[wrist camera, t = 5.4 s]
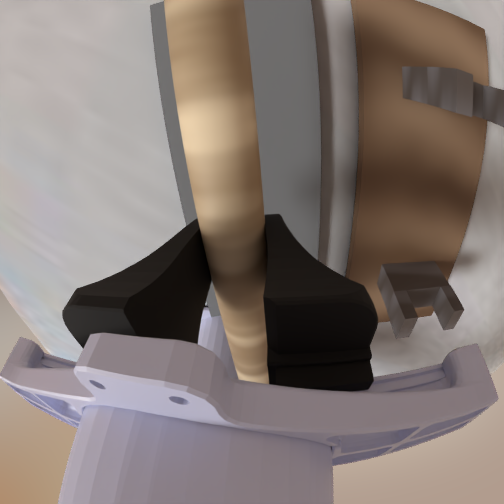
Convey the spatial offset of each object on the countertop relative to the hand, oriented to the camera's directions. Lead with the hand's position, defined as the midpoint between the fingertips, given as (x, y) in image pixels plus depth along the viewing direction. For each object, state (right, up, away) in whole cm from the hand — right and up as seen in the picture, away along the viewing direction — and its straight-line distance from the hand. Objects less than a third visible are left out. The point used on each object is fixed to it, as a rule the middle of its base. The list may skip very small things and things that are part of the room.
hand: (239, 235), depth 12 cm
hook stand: (+12, +4, +4) cm, 13 cm away
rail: (0, 0, 0) cm, 0 cm away
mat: (0, +3, +5) cm, 6 cm away
